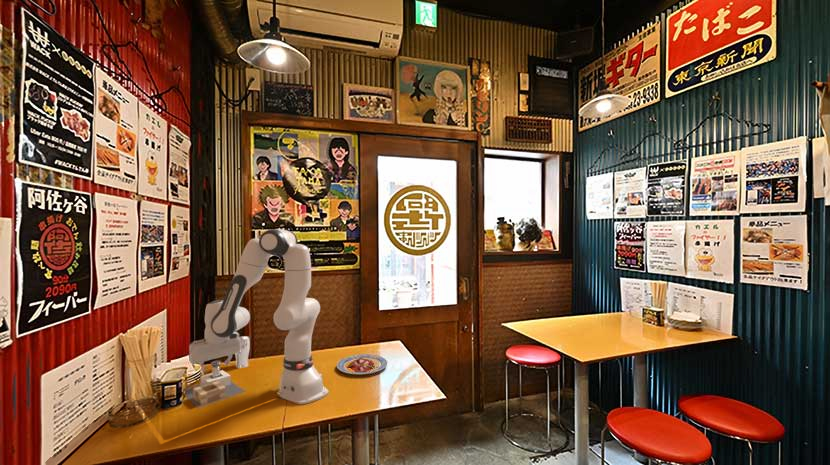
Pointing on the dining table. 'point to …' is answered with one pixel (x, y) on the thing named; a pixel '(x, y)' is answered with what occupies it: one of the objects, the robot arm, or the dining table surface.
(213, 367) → the steel pin
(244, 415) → the dining table surface
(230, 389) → the rubber mat
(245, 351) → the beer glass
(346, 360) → the ceramic plate
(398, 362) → the dining table surface
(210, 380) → the socket block
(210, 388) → the mount block
